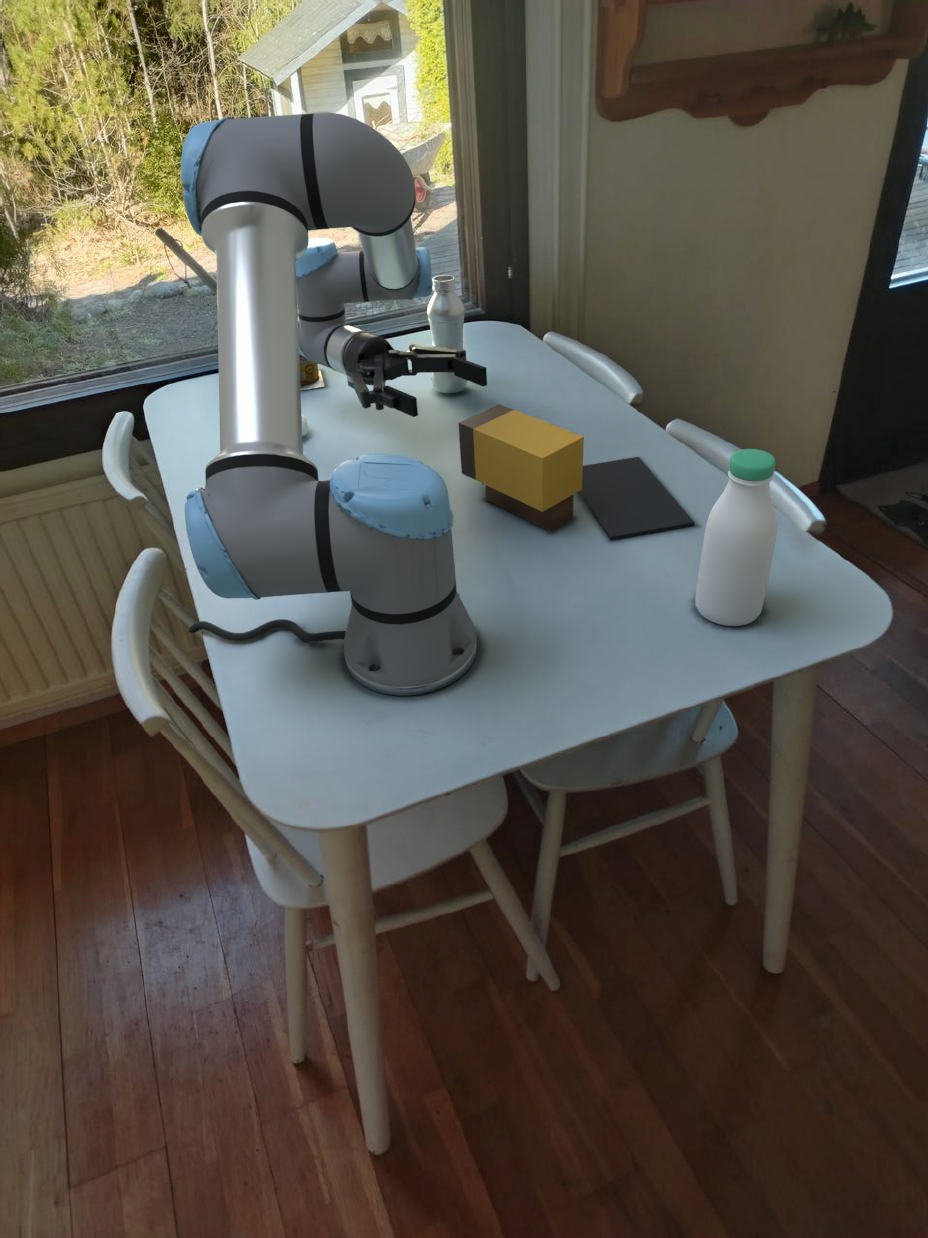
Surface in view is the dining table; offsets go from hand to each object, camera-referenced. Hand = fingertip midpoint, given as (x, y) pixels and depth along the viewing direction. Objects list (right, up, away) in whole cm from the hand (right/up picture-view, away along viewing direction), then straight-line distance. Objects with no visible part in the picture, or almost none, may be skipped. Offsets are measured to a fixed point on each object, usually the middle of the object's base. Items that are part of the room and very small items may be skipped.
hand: (451, 391), depth 123 cm
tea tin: (+10, -13, -2) cm, 17 cm away
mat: (+25, -15, 0) cm, 29 cm away
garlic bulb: (-29, -8, +12) cm, 32 cm away
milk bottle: (+33, -32, -21) cm, 51 cm away
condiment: (-29, +13, +41) cm, 52 cm away
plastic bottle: (-1, +9, +34) cm, 35 cm away
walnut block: (+11, -17, -1) cm, 20 cm away
